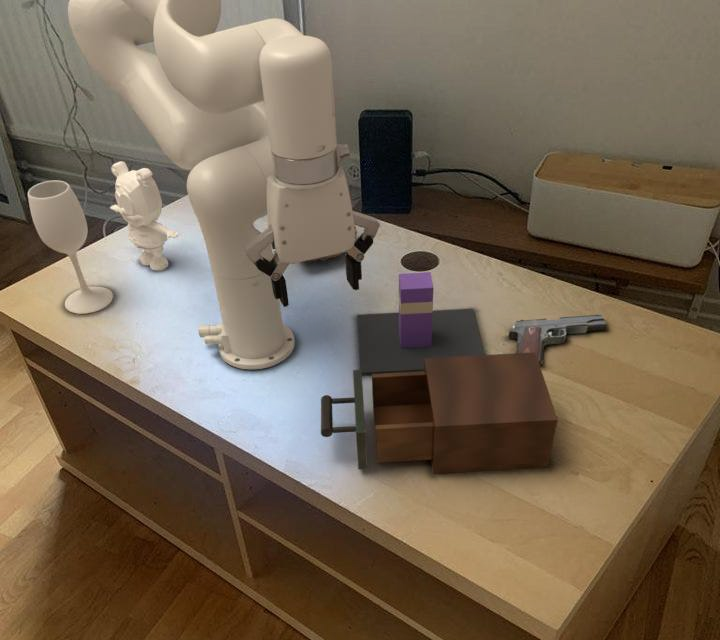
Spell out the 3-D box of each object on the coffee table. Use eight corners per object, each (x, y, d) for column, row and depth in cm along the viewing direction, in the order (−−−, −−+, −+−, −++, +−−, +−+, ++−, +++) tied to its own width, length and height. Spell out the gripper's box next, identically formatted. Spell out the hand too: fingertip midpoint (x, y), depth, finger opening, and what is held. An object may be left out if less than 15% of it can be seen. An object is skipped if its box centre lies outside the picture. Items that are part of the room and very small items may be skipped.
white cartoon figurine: (171, 289, 134) (144, 187, 120) (107, 255, 143) (75, 157, 129) (202, 271, 138) (179, 171, 124) (138, 240, 147) (110, 143, 133)
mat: (360, 375, 114) (360, 372, 114) (357, 317, 125) (357, 314, 125) (486, 368, 114) (487, 365, 114) (472, 311, 125) (472, 308, 125)
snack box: (400, 348, 118) (400, 289, 110) (398, 332, 121) (398, 273, 113) (431, 346, 118) (433, 287, 110) (428, 330, 121) (430, 271, 113)
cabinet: (432, 473, 99) (435, 426, 93) (422, 405, 109) (424, 358, 102) (547, 467, 99) (557, 419, 93) (527, 399, 109) (535, 352, 102)
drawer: (323, 471, 99) (319, 434, 94) (323, 408, 108) (319, 371, 103) (464, 463, 99) (468, 426, 94) (452, 401, 108) (455, 364, 103)
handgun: (514, 369, 114) (515, 359, 112) (499, 329, 121) (500, 319, 120) (622, 362, 114) (625, 352, 113) (600, 322, 122) (603, 313, 121)
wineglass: (55, 309, 131) (9, 197, 116) (84, 284, 136) (44, 174, 121) (94, 318, 128) (52, 204, 113) (122, 292, 134) (86, 181, 118)
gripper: (365, 137, 87) (370, 265, 99) (224, 164, 83) (248, 293, 96) (387, 161, 82) (390, 293, 94) (239, 190, 78) (262, 323, 91)
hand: (318, 293), depth 95 cm, fingers open, 9 cm apart
